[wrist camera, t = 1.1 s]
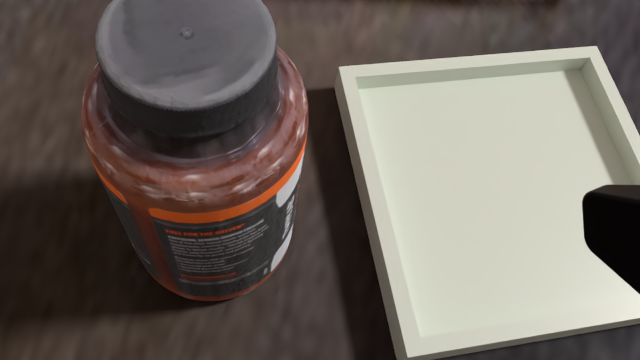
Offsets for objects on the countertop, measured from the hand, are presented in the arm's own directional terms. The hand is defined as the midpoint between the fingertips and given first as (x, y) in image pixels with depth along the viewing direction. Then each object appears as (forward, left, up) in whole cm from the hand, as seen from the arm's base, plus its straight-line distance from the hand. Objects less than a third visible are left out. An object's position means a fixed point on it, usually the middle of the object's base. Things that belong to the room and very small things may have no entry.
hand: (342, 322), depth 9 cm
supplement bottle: (+7, +2, -13) cm, 15 cm away
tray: (+7, -10, -13) cm, 18 cm away
